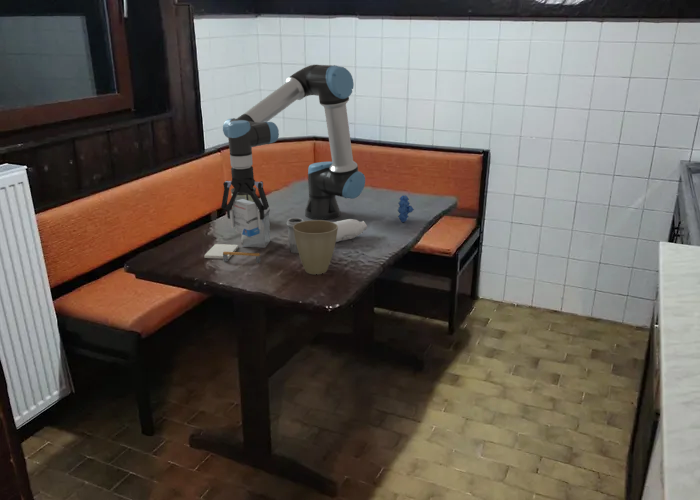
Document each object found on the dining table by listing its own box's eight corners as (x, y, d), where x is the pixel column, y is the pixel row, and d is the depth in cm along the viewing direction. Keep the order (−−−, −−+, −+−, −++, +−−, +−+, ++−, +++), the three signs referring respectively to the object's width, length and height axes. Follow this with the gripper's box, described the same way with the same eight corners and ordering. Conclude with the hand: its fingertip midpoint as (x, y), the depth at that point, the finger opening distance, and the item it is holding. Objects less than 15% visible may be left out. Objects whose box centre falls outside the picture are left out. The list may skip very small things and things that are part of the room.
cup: (285, 249, 231) (283, 218, 227) (301, 246, 233) (301, 216, 229) (291, 255, 225) (289, 224, 220) (308, 252, 227) (307, 221, 223)
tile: (238, 247, 233) (238, 244, 232) (228, 258, 221) (228, 256, 221) (215, 246, 234) (215, 243, 233) (204, 257, 222) (204, 255, 222)
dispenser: (275, 240, 240) (274, 208, 235) (259, 263, 218) (257, 228, 213) (242, 239, 241) (240, 207, 237) (223, 261, 219) (220, 227, 215)
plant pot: (342, 277, 206) (341, 231, 200) (297, 280, 203) (296, 235, 197) (333, 261, 220) (333, 218, 214) (292, 264, 217) (290, 221, 211)
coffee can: (236, 217, 268) (234, 185, 263) (260, 218, 267) (258, 186, 262) (230, 224, 259) (227, 192, 254) (254, 225, 258) (252, 192, 253)
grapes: (410, 227, 255) (411, 199, 251) (394, 225, 257) (395, 197, 253) (416, 219, 266) (417, 192, 261) (400, 217, 267) (401, 190, 263)
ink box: (260, 234, 222) (258, 202, 218) (249, 237, 218) (246, 205, 214) (245, 228, 227) (243, 198, 223) (234, 232, 224) (231, 201, 220)
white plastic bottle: (370, 238, 243) (370, 219, 240) (329, 247, 233) (329, 227, 230) (359, 232, 249) (359, 214, 246) (318, 241, 239) (318, 221, 236)
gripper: (275, 164, 216) (279, 224, 224) (214, 163, 219) (220, 223, 227) (270, 169, 209) (274, 231, 217) (207, 168, 212) (213, 230, 220)
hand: (246, 227), depth 222 cm, fingers closed on ink box, 9 cm apart
